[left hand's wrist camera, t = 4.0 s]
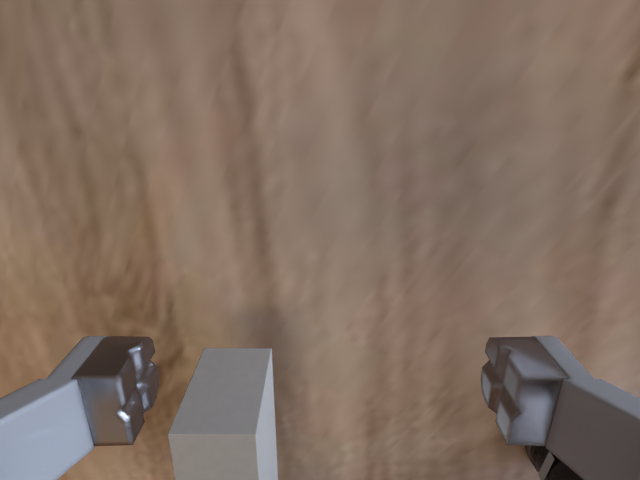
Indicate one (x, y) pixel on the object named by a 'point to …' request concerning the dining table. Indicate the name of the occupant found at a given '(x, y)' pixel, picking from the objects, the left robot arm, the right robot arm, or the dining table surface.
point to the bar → (227, 418)
